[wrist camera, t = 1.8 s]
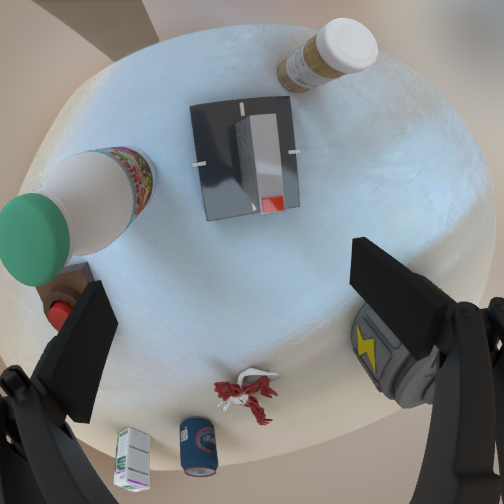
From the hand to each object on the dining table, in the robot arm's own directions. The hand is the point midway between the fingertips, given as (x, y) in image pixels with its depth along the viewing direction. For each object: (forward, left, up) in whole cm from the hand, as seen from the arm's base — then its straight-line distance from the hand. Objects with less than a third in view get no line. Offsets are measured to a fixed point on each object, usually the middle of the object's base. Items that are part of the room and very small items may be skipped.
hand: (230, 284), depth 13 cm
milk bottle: (-4, -10, -19) cm, 22 cm away
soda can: (+42, -12, -19) cm, 48 cm away
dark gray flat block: (-5, +4, -19) cm, 20 cm away
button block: (+9, -22, -19) cm, 30 cm away
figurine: (+30, 0, -19) cm, 36 cm away
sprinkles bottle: (-14, +11, -19) cm, 26 cm away
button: (+9, -22, -15) cm, 28 cm away
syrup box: (+46, -28, -19) cm, 57 cm away
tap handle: (-5, +4, -16) cm, 17 cm away
